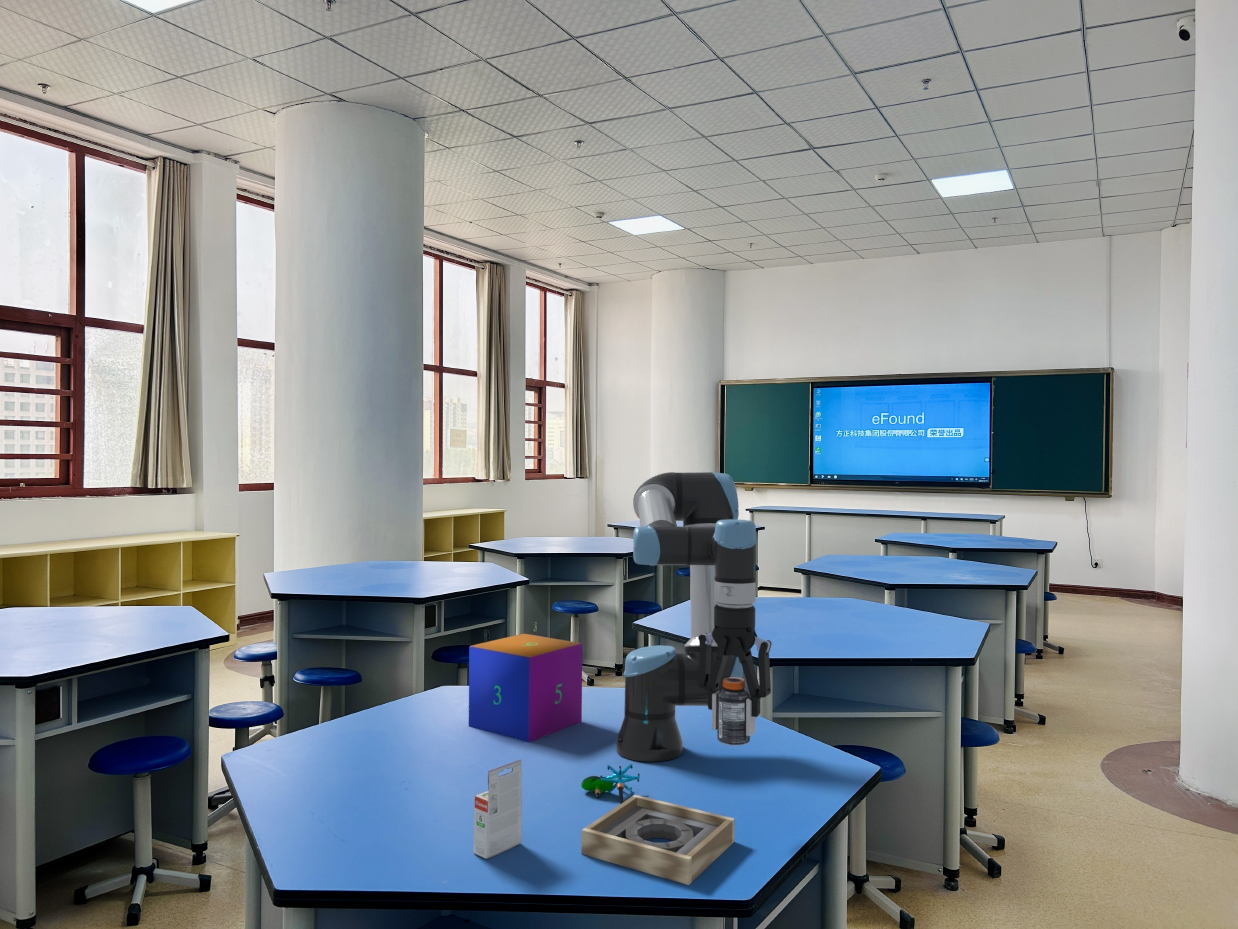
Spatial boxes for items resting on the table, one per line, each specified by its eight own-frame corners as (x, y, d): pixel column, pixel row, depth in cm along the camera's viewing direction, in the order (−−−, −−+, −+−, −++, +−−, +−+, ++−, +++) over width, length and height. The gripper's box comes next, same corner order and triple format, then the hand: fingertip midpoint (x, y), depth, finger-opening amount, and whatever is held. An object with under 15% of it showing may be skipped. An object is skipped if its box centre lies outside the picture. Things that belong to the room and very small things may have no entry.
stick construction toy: (644, 778, 171) (633, 755, 167) (647, 809, 165) (636, 786, 161) (587, 792, 172) (575, 770, 168) (588, 823, 166) (576, 801, 162)
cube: (523, 708, 227) (523, 633, 227) (581, 722, 215) (582, 643, 215) (468, 726, 211) (469, 646, 211) (528, 742, 199) (529, 657, 199)
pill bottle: (730, 733, 159) (731, 673, 159) (756, 741, 155) (757, 679, 155) (710, 740, 155) (711, 679, 155) (736, 748, 151) (737, 685, 151)
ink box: (472, 854, 142) (473, 766, 142) (507, 838, 148) (508, 754, 148) (487, 860, 140) (487, 772, 140) (522, 844, 146) (523, 759, 146)
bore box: (581, 853, 142) (581, 830, 142) (634, 816, 158) (634, 794, 158) (688, 885, 132) (688, 859, 132) (734, 841, 147) (734, 818, 147)
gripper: (679, 602, 157) (677, 727, 157) (777, 612, 147) (776, 745, 147) (696, 597, 163) (695, 717, 163) (791, 606, 154) (790, 733, 154)
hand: (733, 730), depth 155 cm, fingers closed on pill bottle, 6 cm apart
